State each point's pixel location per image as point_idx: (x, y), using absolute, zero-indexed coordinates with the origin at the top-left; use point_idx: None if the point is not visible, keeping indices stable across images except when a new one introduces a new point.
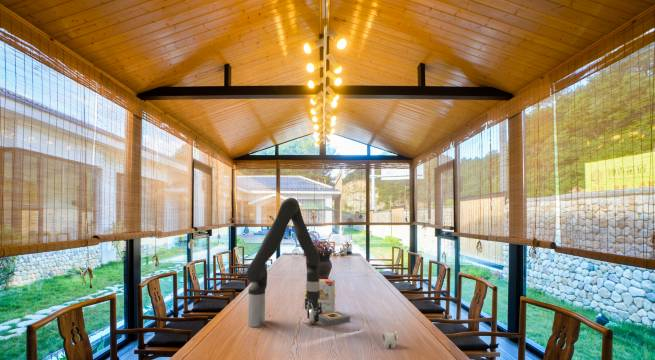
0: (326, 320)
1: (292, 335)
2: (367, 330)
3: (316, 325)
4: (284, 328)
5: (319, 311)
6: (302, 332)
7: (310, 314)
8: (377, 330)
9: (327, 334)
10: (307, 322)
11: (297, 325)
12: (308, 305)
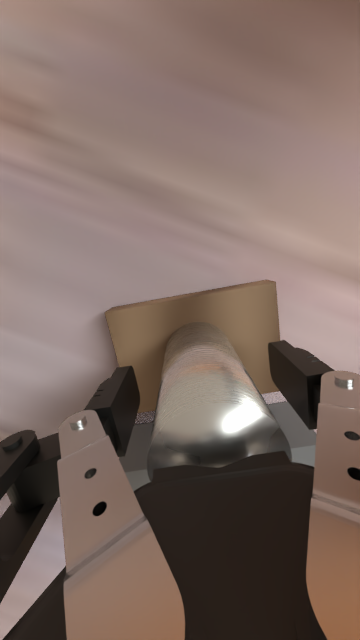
0: (129, 471)
1: (53, 91)
2: (23, 588)
3: (159, 369)
4: (285, 74)
5: (38, 515)
6: (105, 218)
7: (186, 370)
8: (11, 620)
9: (7, 382)
10: (272, 328)
11: (303, 239)
12: (337, 470)
